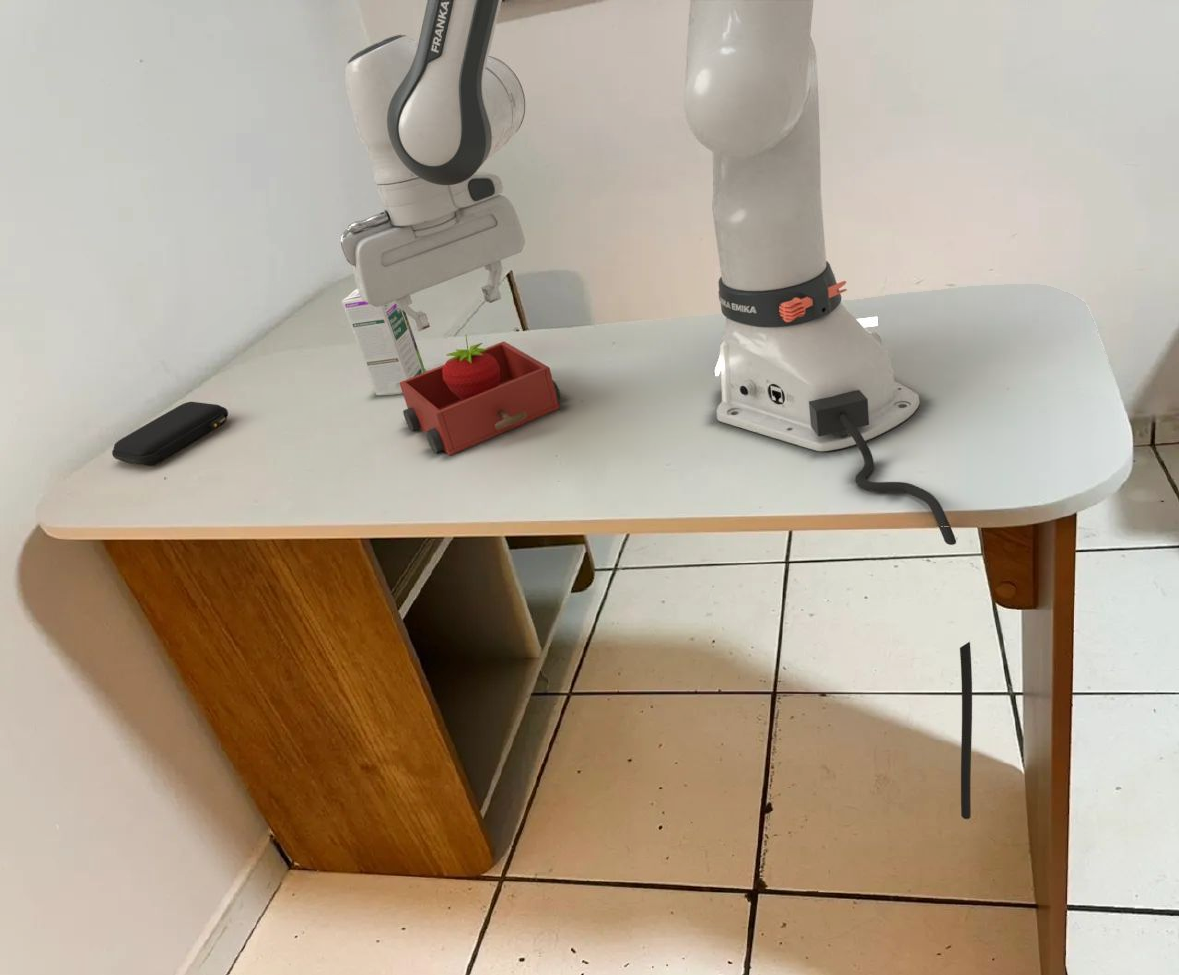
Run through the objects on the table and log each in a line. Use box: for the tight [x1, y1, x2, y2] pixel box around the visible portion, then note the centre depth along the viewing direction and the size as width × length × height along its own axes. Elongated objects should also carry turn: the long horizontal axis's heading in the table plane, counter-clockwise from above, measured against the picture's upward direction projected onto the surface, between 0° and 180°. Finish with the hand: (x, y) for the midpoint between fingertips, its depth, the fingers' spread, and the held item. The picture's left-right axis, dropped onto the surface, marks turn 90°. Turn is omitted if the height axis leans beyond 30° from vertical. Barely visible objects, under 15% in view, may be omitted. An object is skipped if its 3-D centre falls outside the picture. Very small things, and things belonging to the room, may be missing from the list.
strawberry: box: [442, 334, 500, 401], centre depth 115 cm, size 6×8×10 cm
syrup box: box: [341, 288, 427, 396], centre depth 129 cm, size 6×6×14 cm
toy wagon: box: [399, 340, 562, 456], centre depth 115 cm, size 17×17×6 cm
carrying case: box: [111, 401, 229, 467], centre depth 130 cm, size 11×3×15 cm
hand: (458, 314), depth 111 cm, fingers open, 8 cm apart
